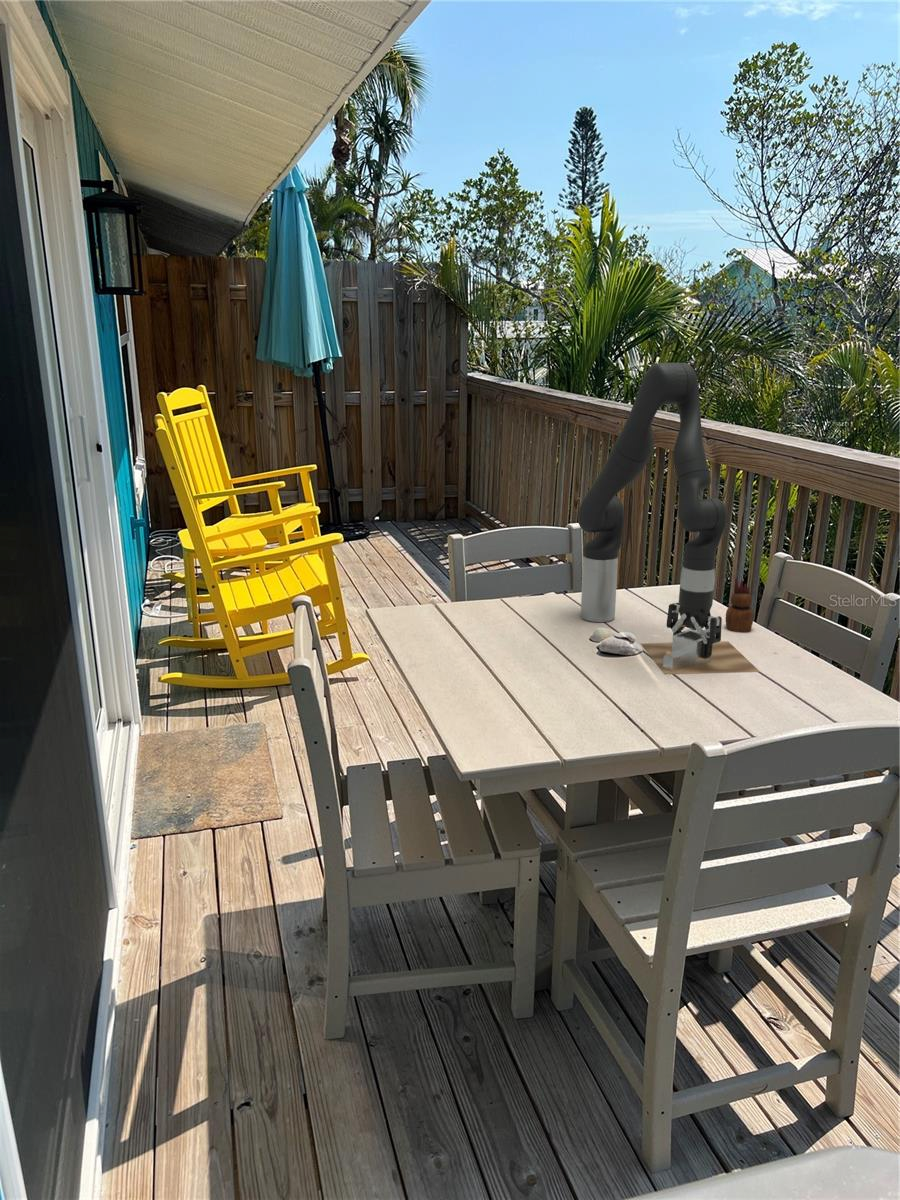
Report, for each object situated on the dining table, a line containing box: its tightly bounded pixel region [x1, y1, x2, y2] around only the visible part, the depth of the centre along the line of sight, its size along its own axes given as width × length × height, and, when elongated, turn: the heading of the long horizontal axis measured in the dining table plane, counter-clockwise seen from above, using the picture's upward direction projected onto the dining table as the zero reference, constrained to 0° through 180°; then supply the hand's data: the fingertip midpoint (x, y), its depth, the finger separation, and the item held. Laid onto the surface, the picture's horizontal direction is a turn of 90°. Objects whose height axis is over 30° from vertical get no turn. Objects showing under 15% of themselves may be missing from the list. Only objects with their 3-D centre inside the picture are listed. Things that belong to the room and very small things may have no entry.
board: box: [640, 640, 761, 676], centre depth 209 cm, size 20×22×2 cm
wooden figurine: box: [725, 577, 755, 633], centre depth 226 cm, size 7×6×15 cm
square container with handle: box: [663, 628, 711, 671], centre depth 204 cm, size 12×6×6 cm, turn 131°
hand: (691, 652), depth 207 cm, fingers open, 8 cm apart
